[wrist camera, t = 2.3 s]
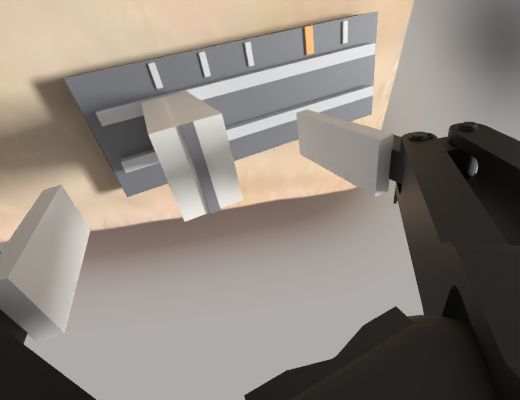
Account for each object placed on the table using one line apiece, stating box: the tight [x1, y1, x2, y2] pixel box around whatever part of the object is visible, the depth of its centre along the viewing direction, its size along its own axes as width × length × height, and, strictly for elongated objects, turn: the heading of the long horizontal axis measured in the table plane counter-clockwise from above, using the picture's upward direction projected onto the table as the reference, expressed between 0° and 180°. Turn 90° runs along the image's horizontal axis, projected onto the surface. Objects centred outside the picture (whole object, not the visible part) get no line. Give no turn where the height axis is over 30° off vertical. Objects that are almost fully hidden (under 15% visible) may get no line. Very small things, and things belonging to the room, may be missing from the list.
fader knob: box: [141, 91, 243, 221], centre depth 18 cm, size 5×4×11 cm
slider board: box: [64, 11, 378, 197], centre depth 25 cm, size 10×28×3 cm, turn 101°
